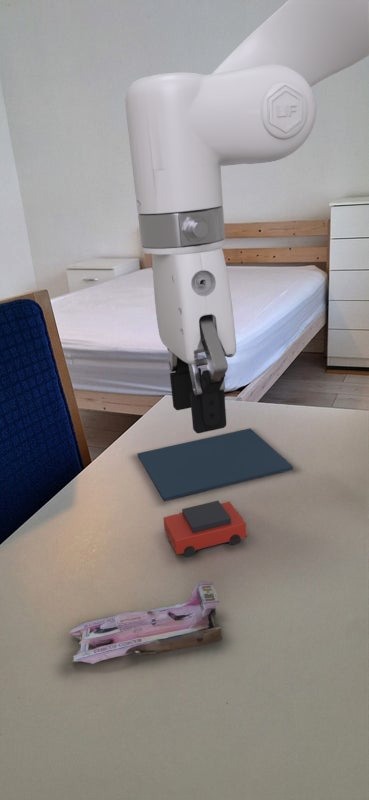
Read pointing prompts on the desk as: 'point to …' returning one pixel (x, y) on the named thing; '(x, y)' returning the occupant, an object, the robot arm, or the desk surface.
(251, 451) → the mat
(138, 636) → the toy boat
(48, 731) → the desk surface
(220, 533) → the red toy vehicle
